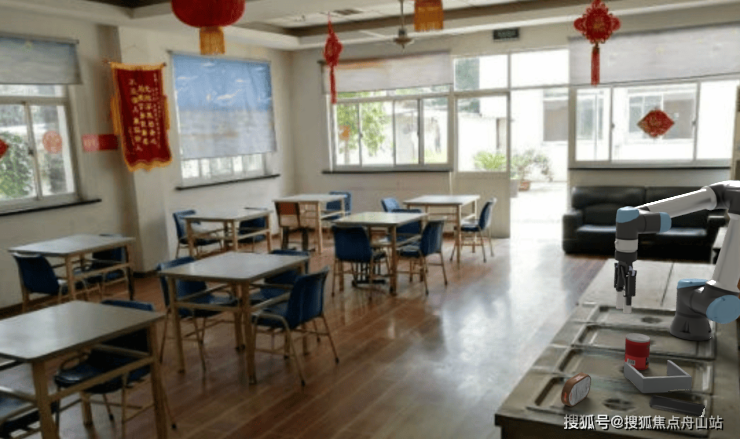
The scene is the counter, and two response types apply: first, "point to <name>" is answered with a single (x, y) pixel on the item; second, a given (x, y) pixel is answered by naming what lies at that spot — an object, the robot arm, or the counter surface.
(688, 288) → the robot arm
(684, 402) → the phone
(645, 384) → the box
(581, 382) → the tin
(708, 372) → the counter surface
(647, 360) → the canned food
